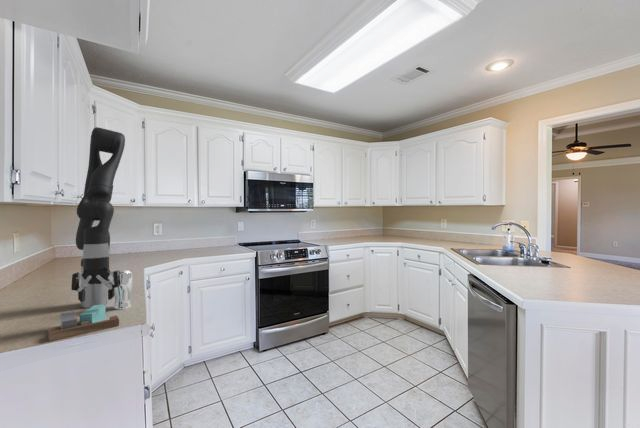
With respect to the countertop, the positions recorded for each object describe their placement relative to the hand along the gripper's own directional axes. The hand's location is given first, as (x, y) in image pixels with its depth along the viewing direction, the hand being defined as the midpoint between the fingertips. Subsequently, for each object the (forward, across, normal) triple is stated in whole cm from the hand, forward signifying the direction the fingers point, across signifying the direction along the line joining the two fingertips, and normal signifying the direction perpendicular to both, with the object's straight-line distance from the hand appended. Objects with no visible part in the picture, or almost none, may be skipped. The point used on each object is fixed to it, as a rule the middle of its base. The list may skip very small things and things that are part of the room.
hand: (96, 300), depth 104 cm
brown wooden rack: (+8, 0, -8) cm, 11 cm away
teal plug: (+8, -1, 0) cm, 8 cm away
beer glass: (+8, +3, +16) cm, 18 cm away
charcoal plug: (+8, -6, -6) cm, 12 cm away
